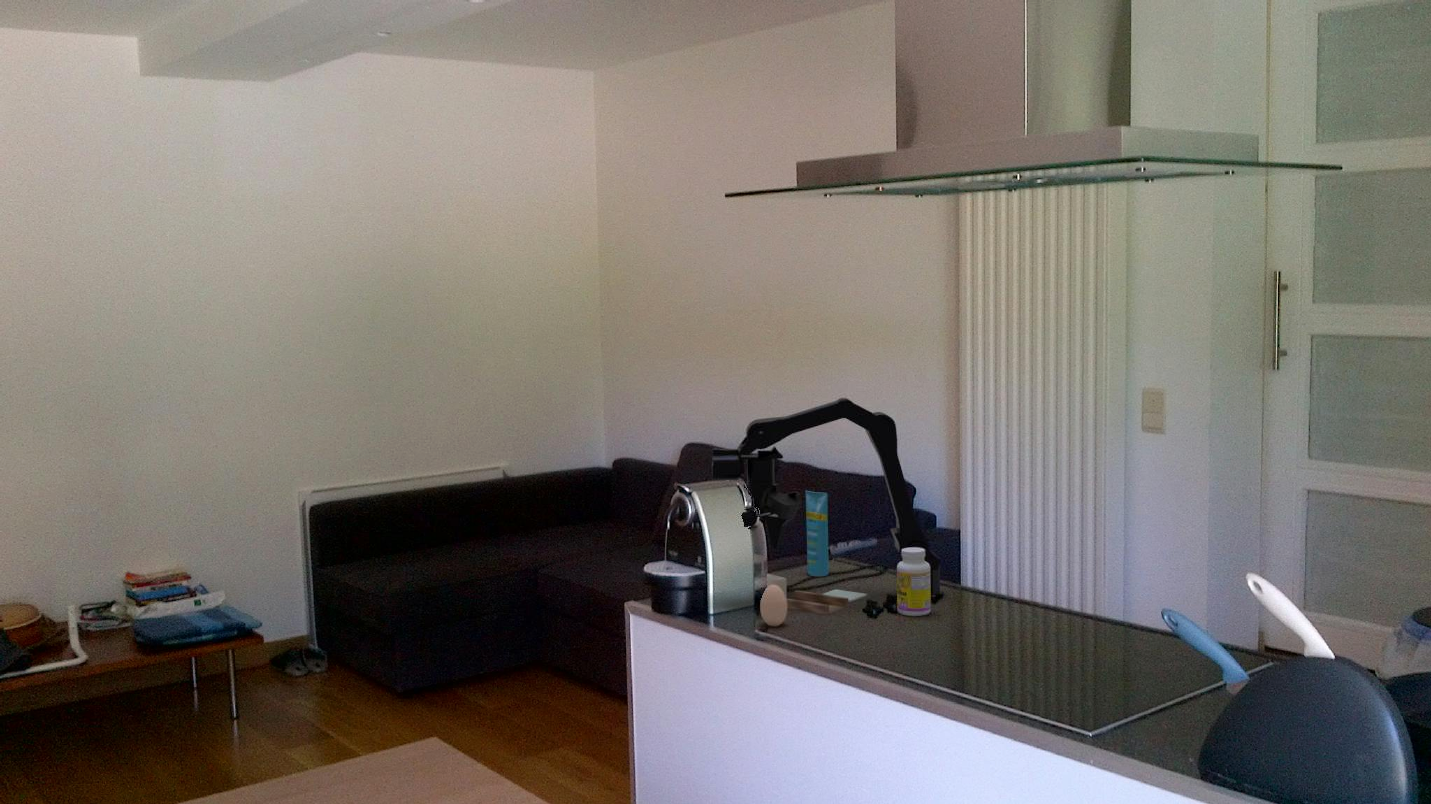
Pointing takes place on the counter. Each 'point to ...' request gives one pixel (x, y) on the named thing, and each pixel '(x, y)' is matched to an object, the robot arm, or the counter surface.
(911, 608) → the supplement bottle
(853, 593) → the pad
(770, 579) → the block
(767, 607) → the egg
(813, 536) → the tube
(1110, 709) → the counter surface
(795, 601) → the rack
